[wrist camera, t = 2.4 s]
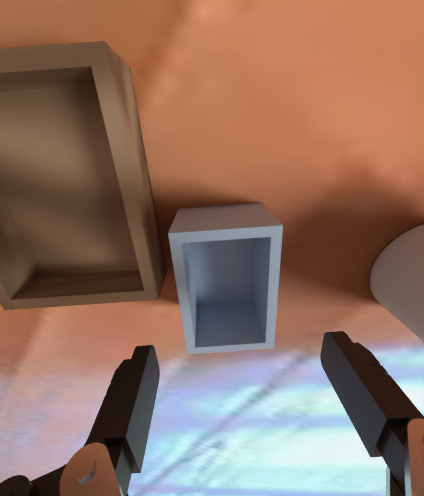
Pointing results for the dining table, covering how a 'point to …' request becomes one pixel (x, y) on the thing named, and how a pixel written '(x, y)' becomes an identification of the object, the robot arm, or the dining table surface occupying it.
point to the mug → (402, 279)
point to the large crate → (73, 181)
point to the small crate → (227, 276)
